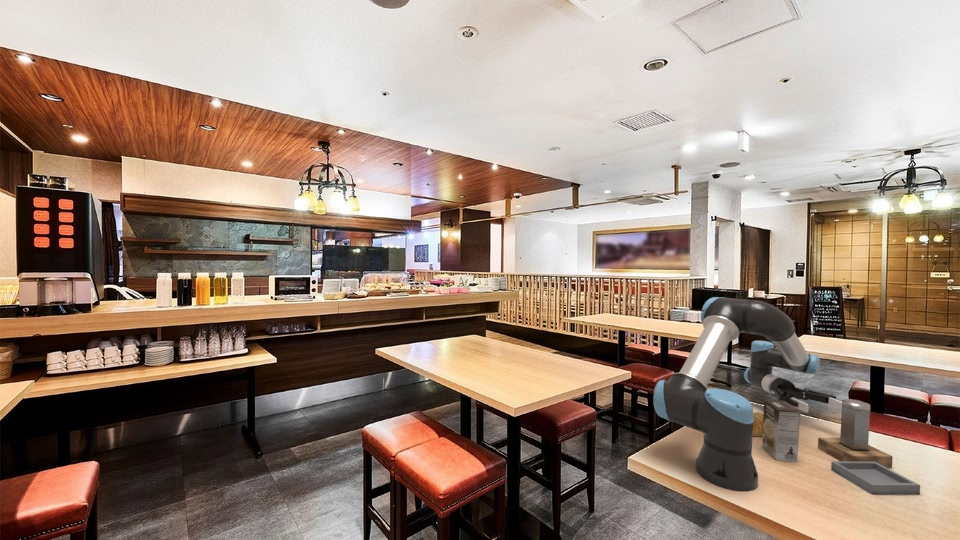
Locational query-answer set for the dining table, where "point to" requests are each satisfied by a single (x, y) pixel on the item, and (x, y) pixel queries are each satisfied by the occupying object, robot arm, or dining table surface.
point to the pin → (855, 425)
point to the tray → (875, 477)
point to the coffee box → (781, 430)
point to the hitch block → (853, 452)
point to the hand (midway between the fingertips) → (827, 408)
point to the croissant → (758, 424)
